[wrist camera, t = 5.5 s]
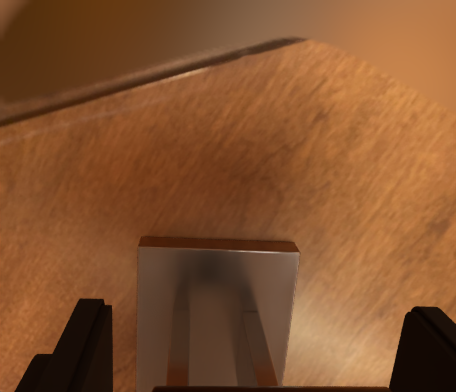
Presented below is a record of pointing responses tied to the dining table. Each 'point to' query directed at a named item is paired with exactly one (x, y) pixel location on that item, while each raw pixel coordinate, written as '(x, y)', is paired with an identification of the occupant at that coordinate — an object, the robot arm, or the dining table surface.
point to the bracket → (213, 311)
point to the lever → (269, 389)
